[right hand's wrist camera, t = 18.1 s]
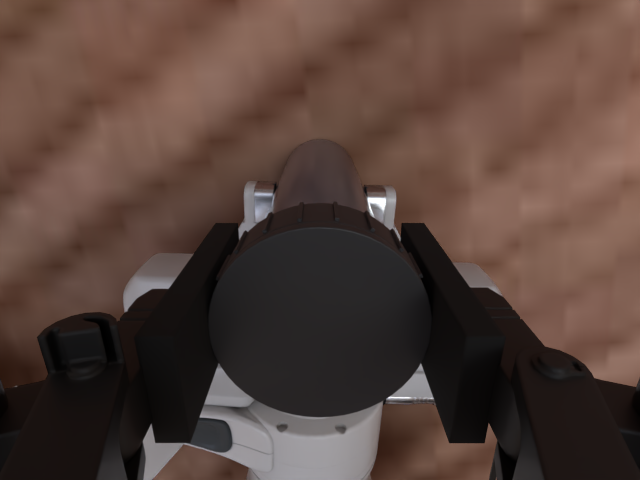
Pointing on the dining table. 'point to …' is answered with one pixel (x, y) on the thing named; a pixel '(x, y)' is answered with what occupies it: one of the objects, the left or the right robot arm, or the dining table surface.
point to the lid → (319, 312)
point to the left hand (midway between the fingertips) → (319, 185)
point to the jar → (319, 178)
